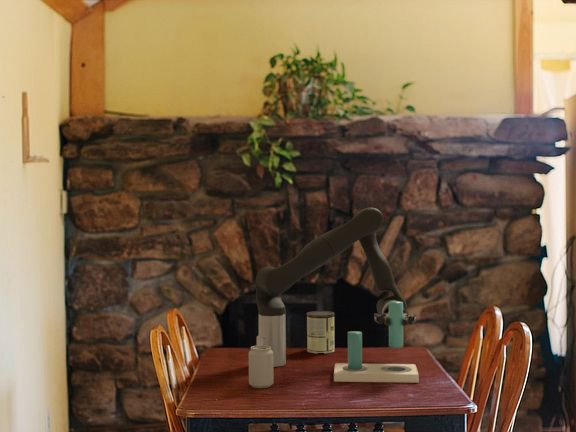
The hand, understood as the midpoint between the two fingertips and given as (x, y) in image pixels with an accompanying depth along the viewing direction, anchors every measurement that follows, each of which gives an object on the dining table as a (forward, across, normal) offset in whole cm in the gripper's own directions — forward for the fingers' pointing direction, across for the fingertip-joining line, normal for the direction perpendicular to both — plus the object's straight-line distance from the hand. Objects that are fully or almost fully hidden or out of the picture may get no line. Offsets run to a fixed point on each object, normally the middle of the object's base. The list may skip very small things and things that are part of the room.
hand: (396, 322), depth 241 cm
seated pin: (-3, -13, +18) cm, 22 cm away
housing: (-3, -6, +18) cm, 19 cm away
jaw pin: (-3, 0, +8) cm, 8 cm away
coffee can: (-41, -26, +18) cm, 52 cm away
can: (+11, -42, +18) cm, 47 cm away
